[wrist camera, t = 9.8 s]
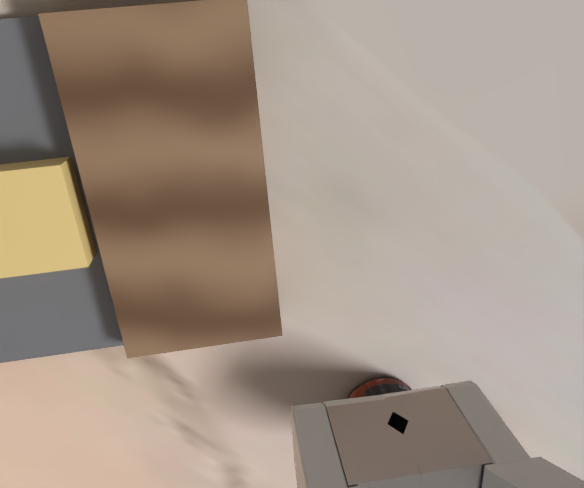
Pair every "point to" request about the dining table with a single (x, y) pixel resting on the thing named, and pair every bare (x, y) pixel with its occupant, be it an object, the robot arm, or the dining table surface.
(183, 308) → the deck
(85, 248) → the pale yellow flat block
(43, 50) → the mat
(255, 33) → the dining table surface
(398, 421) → the robot arm
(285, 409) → the dining table surface
